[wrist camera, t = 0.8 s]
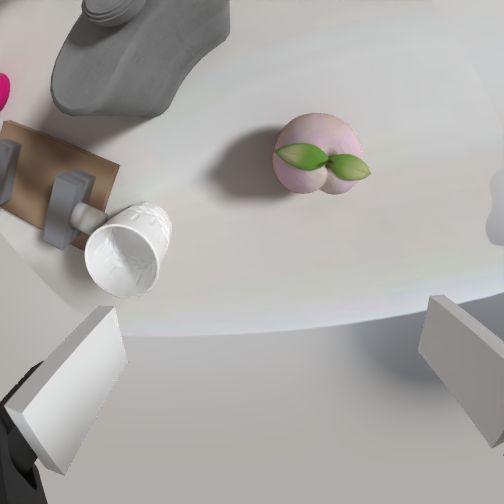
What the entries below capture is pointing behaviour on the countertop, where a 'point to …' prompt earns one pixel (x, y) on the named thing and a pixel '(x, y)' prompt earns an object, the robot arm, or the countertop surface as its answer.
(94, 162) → the block
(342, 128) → the decorative fruit
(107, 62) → the flask
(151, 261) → the white cup
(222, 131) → the countertop surface
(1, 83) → the pepper mill
